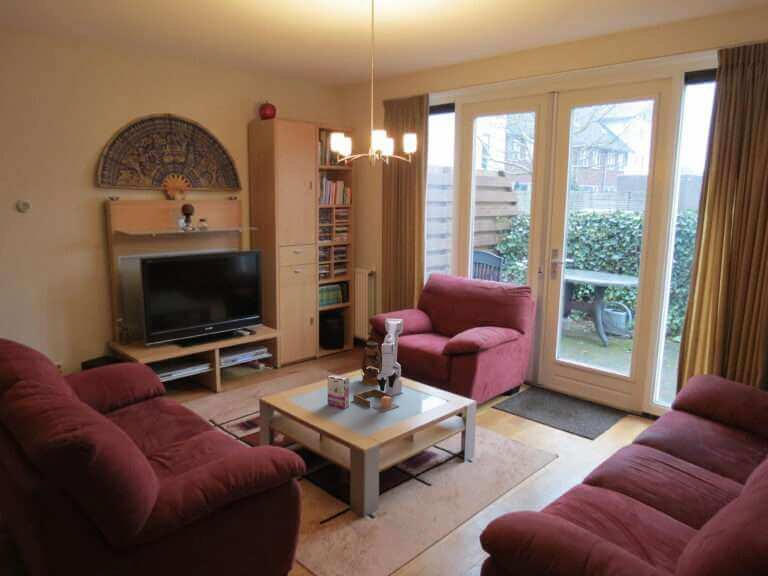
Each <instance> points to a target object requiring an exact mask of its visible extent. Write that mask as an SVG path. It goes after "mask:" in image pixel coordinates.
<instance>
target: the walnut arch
mask: <svg viewBox="0 0 768 576" xmlns="http://www.w3.org/2000/svg"><path fill="white" fill-rule="evenodd" d="M373 395H374V396H375V395H376V397H378V398H380V399H381V398H382V397H384V396H388V397H391V396H390V395H389V394H387V393H384V392H382V391H380V389H377V388H372V389H368V390H364V391H360V392H359V393H355V394H353V395H352V396H353V398H352V399H353V402H356V403H357V404H360V405H362V406H364V407H365V408H368V409H369V408H370V407H371V401H370V400H368V399H367V398H369V397H373Z"/></svg>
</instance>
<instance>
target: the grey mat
mask: <svg viewBox="0 0 768 576" xmlns="http://www.w3.org/2000/svg"><path fill="white" fill-rule="evenodd" d="M399 407H400V405H397V404H396V403H393V402H391V407H389V408H384V407H381V404H378V405H374V406H373V407H372V408H373V409H375V410H376V411H380V412H382V413H385V412H388V411H391V410H395V409H398V408H399Z"/></svg>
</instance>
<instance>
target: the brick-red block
mask: <svg viewBox="0 0 768 576" xmlns="http://www.w3.org/2000/svg"><path fill="white" fill-rule="evenodd" d="M391 403H392V396H390V397H388V396H384V397H382V398H380V405H381V407H384V408H389V407H391Z"/></svg>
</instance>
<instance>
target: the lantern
mask: <svg viewBox="0 0 768 576" xmlns="http://www.w3.org/2000/svg"><path fill="white" fill-rule="evenodd" d="M370 337H374V335H373V334H372V335H371V336H370ZM378 345H379V343H378V342H375V341H367V342H366V346H365V347H364V349H363V352H362V360H361V365H360V370H361V371H360V373H361V376H362V379H361V381H360V383H361V384H362V385H365V386H368V385H369V386H368V387H376V386H375V385H377V386H379V383H378V381H377V376H378V375H379V374H380V373H381V371H382V353H381V352H380V350H379V346H378ZM369 362H373V363H370V364H369ZM370 366H371V367H370ZM374 366H375V367H374ZM377 367H378V368H377Z"/></svg>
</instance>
